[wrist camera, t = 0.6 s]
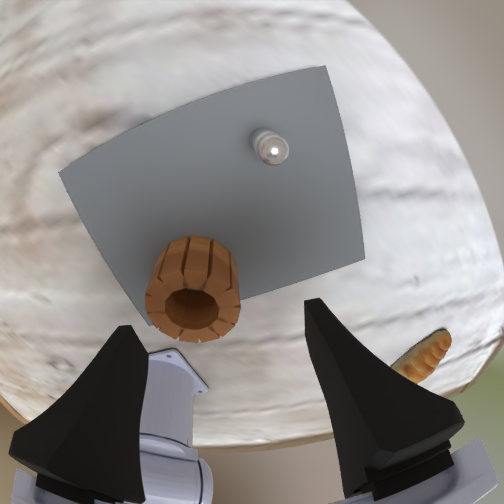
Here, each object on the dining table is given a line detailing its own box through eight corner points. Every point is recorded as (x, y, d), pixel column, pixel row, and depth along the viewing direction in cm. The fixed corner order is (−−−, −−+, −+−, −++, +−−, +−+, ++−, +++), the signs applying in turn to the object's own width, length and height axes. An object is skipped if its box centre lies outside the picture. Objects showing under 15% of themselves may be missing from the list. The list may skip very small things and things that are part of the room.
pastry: (436, 319, 28) (451, 340, 25) (452, 332, 30) (465, 351, 27) (383, 368, 32) (394, 390, 28) (406, 375, 34) (416, 394, 31)
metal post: (254, 155, 16) (264, 173, 12) (246, 131, 15) (253, 141, 11) (278, 148, 16) (296, 163, 12) (271, 124, 15) (287, 131, 11)
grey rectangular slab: (152, 314, 23) (149, 326, 22) (68, 166, 16) (58, 172, 15) (357, 249, 21) (365, 258, 20) (317, 68, 14) (325, 65, 13)
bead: (178, 310, 21) (172, 349, 18) (143, 252, 18) (127, 287, 15) (247, 290, 21) (252, 329, 17) (219, 224, 18) (218, 256, 14)
